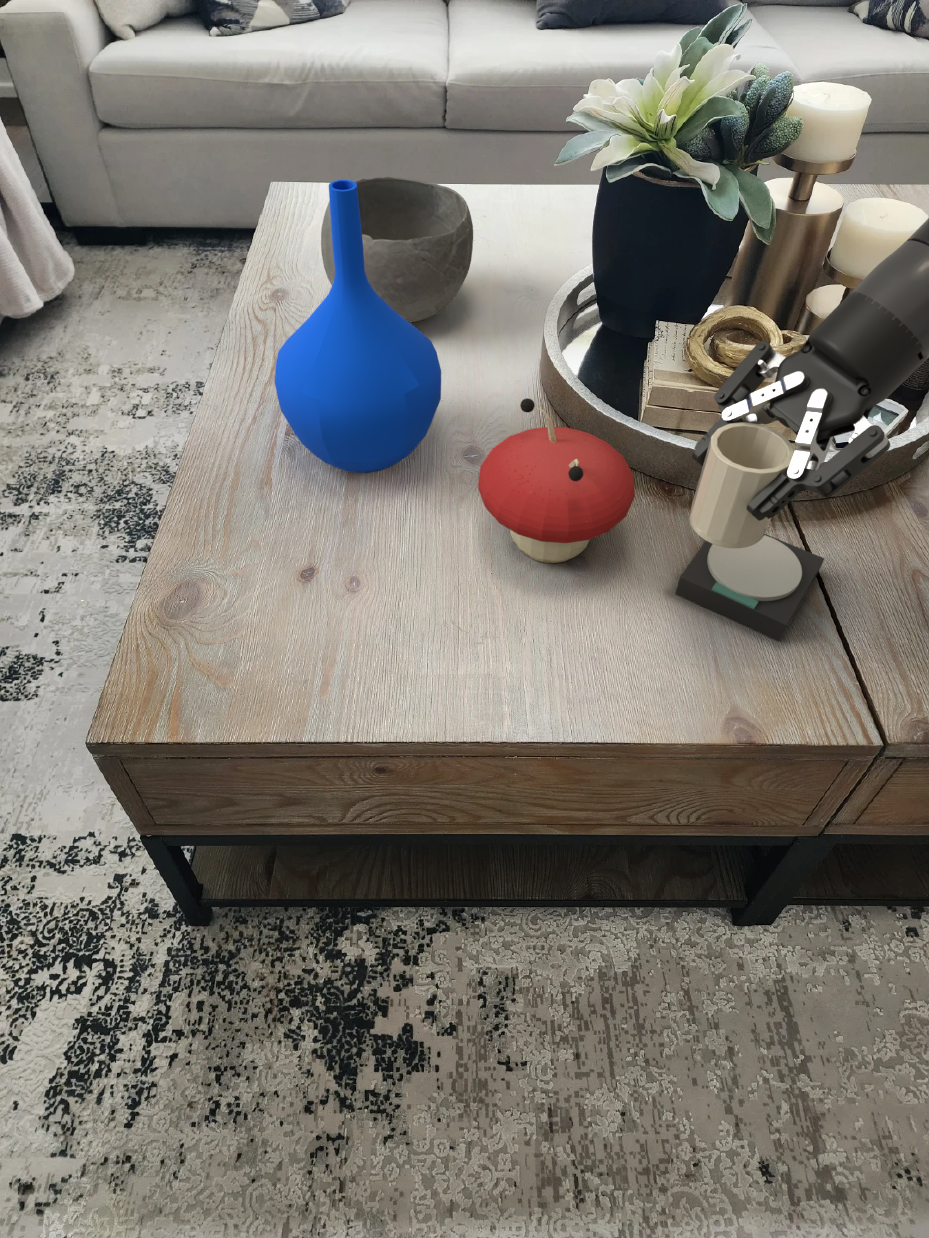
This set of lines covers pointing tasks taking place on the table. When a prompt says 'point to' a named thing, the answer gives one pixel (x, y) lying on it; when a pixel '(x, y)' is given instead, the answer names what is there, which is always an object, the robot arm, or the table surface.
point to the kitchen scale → (751, 583)
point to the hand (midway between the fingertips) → (725, 488)
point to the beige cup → (737, 482)
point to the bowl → (410, 243)
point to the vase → (357, 364)
